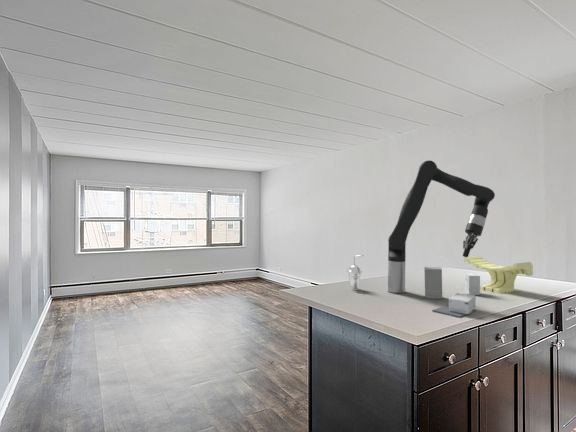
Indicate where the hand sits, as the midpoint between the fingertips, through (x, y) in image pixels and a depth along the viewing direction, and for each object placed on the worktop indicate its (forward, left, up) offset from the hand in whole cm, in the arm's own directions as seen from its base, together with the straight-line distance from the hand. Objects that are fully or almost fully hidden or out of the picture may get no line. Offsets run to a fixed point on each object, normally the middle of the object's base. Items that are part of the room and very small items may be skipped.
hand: (465, 256), depth 173 cm
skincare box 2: (-2, -13, -19) cm, 23 cm away
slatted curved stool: (+24, +35, -23) cm, 48 cm away
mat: (-8, -22, -22) cm, 32 cm away
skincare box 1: (-14, +3, -23) cm, 27 cm away
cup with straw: (-55, +11, -23) cm, 61 cm away
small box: (+8, +20, -23) cm, 31 cm away
